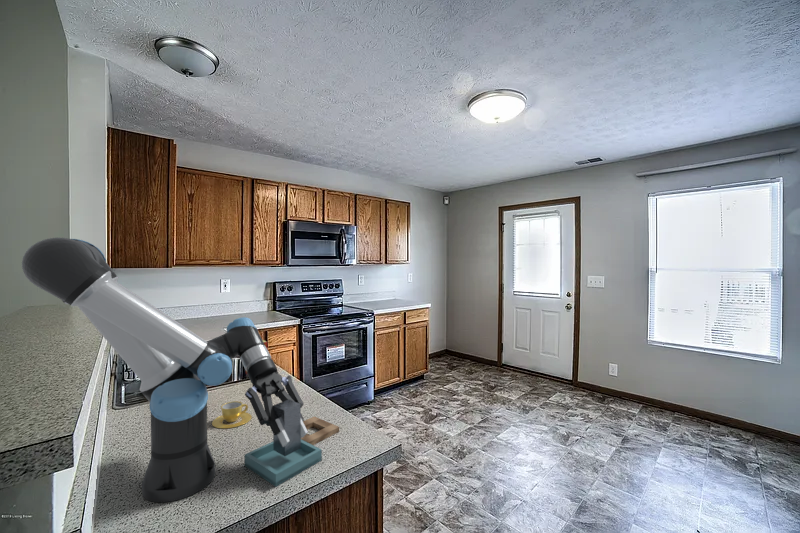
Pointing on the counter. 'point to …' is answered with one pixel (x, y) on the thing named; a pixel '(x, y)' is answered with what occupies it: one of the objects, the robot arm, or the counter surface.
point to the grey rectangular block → (288, 426)
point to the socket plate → (323, 426)
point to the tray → (281, 462)
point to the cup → (232, 415)
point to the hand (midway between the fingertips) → (295, 439)
